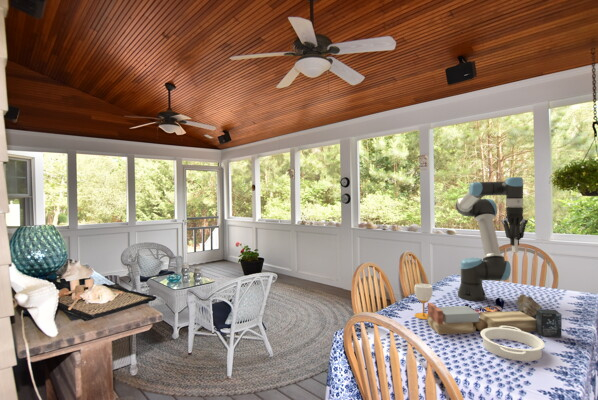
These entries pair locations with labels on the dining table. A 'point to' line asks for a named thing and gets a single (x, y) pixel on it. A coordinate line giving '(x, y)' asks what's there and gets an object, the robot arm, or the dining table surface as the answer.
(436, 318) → the track
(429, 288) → the cup
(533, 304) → the rock
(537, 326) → the box
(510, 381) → the dining table surface
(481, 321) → the roller
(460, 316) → the slab
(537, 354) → the cream oval ring
